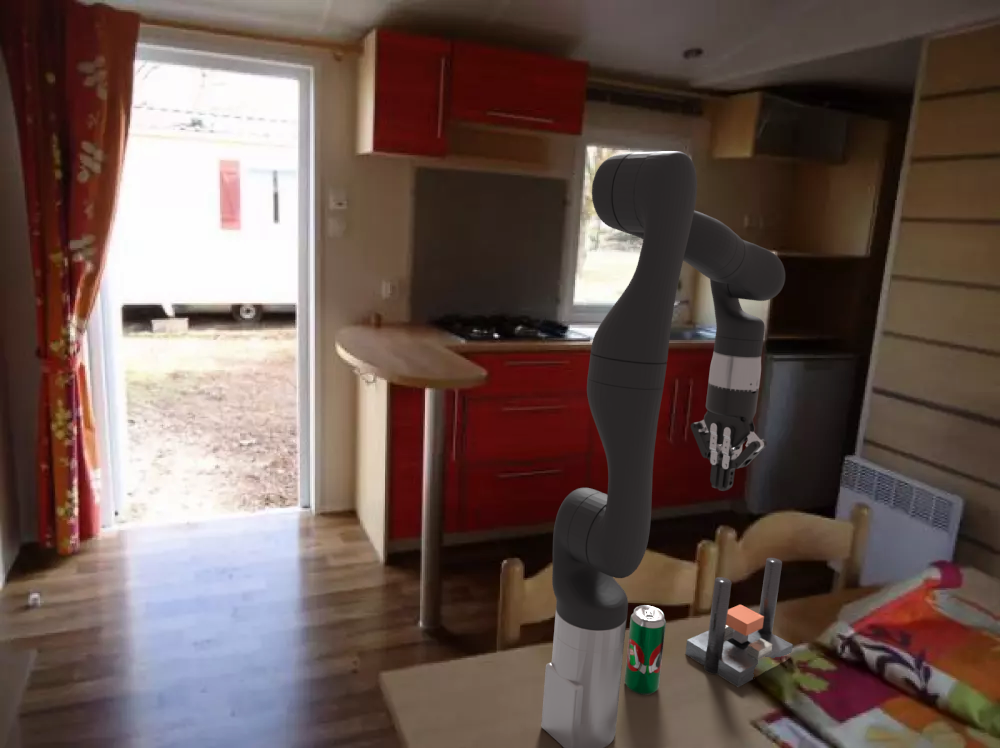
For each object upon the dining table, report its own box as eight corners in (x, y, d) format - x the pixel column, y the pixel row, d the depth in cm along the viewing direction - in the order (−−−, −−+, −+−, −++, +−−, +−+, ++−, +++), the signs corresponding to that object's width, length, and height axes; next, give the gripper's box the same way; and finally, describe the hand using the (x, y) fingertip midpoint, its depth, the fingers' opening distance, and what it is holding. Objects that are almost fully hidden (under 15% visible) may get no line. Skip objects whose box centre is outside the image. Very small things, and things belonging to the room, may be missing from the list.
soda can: (656, 677, 108) (664, 605, 106) (660, 698, 104) (668, 623, 101) (623, 674, 109) (630, 602, 107) (625, 695, 104) (633, 620, 102)
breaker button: (743, 650, 112) (747, 624, 111) (720, 636, 115) (723, 611, 114) (760, 642, 114) (764, 616, 113) (737, 629, 118) (740, 604, 117)
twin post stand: (734, 689, 107) (746, 597, 104) (681, 655, 115) (691, 569, 112) (793, 656, 116) (806, 571, 113) (741, 628, 124) (752, 547, 121)
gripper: (683, 376, 114) (672, 479, 117) (757, 393, 103) (742, 506, 106) (713, 372, 118) (701, 472, 121) (786, 389, 107) (771, 498, 111)
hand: (720, 488), depth 114 cm, fingers closed
